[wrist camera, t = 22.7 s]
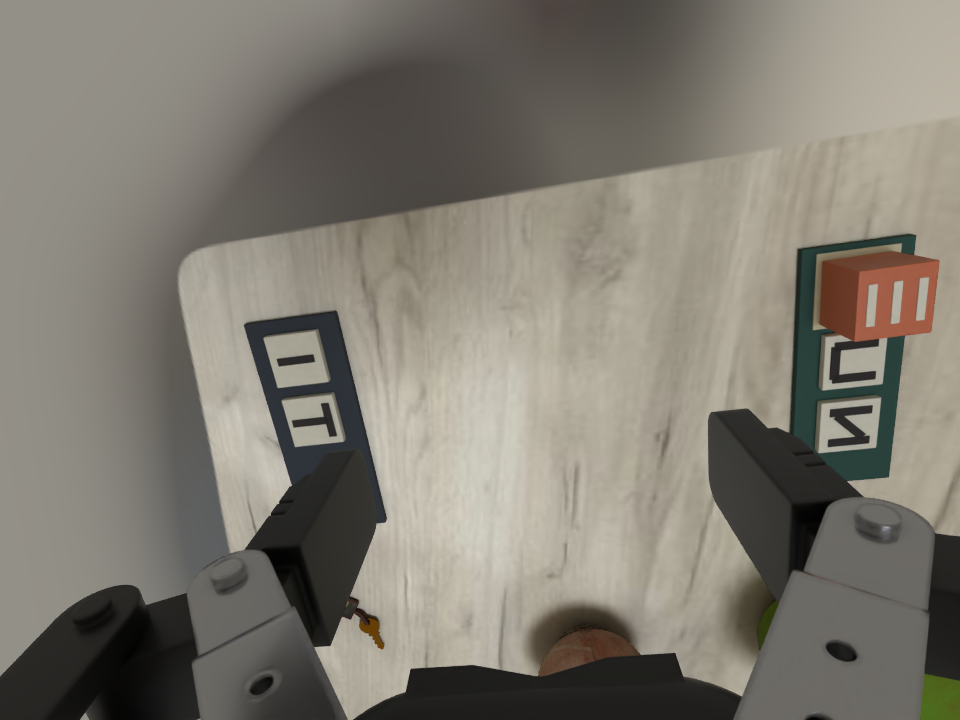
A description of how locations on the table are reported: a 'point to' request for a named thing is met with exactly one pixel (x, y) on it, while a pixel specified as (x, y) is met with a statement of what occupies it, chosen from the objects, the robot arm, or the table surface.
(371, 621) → the key tag
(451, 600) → the table surface
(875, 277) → the red striped block
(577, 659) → the onion
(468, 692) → the robot arm
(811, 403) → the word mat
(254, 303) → the table surface
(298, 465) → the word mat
